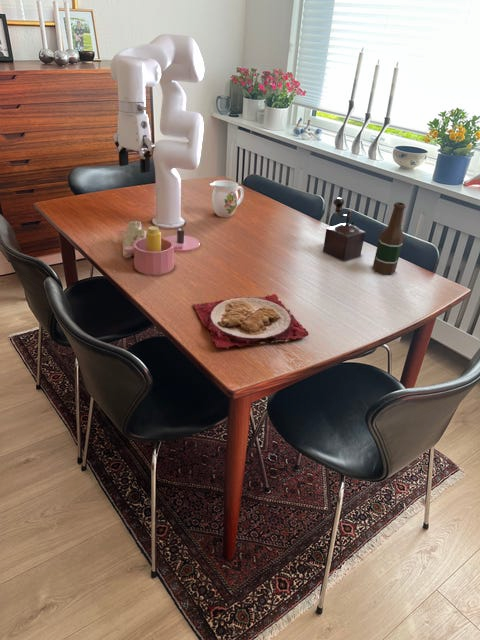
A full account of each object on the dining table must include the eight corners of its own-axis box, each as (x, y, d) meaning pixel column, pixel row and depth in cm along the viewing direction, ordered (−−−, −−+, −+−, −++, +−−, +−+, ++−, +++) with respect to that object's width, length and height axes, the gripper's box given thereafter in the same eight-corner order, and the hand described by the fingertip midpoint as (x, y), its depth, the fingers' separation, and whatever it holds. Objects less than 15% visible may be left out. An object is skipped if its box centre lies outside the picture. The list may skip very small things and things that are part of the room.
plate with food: (309, 340, 130) (311, 329, 128) (216, 351, 121) (217, 339, 119) (275, 298, 149) (276, 288, 147) (193, 305, 140) (193, 294, 139)
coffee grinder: (362, 255, 180) (373, 208, 171) (343, 261, 174) (353, 213, 165) (331, 241, 190) (339, 195, 181) (311, 246, 184) (319, 200, 175)
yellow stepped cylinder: (146, 263, 161) (144, 225, 154) (160, 262, 162) (159, 225, 155) (148, 269, 157) (147, 231, 150) (162, 268, 158) (161, 230, 152)
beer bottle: (395, 268, 173) (413, 202, 160) (394, 277, 166) (412, 209, 154) (373, 264, 174) (388, 198, 162) (371, 272, 168) (387, 204, 156)
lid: (158, 238, 180) (158, 223, 177) (194, 237, 184) (195, 222, 181) (165, 254, 169) (164, 237, 166) (203, 251, 173) (203, 236, 170)
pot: (124, 260, 162) (122, 238, 158) (177, 257, 167) (177, 235, 163) (128, 277, 152) (127, 254, 148) (185, 273, 157) (185, 250, 153)
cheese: (146, 268, 163) (168, 232, 167) (130, 256, 158) (153, 218, 162) (123, 266, 174) (143, 231, 178) (107, 254, 169) (128, 219, 173)
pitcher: (250, 214, 210) (253, 182, 202) (217, 221, 199) (218, 188, 192) (233, 206, 216) (236, 175, 209) (201, 213, 206) (202, 181, 199)
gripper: (163, 111, 137) (163, 173, 146) (123, 102, 146) (125, 161, 155) (142, 113, 132) (144, 176, 141) (102, 104, 141) (106, 164, 150)
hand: (134, 168), depth 148 cm, fingers open, 9 cm apart
